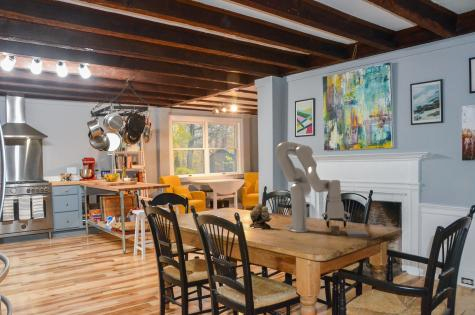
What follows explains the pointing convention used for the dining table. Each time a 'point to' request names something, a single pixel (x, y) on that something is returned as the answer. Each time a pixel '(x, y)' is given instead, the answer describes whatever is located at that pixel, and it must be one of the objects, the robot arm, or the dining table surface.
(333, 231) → the cube
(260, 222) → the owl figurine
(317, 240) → the dining table surface
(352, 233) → the trivet
